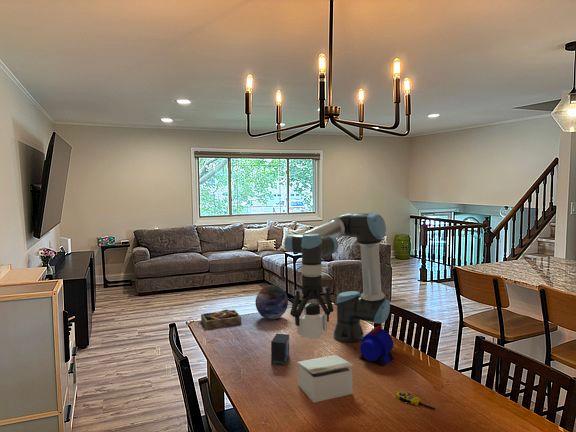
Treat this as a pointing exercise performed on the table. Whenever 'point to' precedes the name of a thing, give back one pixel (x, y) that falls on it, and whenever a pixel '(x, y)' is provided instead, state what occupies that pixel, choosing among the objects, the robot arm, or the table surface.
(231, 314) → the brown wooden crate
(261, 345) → the table surface
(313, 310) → the medicine bottle
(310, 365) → the lid
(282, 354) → the small box
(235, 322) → the filled wooden tray
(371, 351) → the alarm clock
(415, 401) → the yellow black screwdriver
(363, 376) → the table surface
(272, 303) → the decorative sphere
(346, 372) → the carton
